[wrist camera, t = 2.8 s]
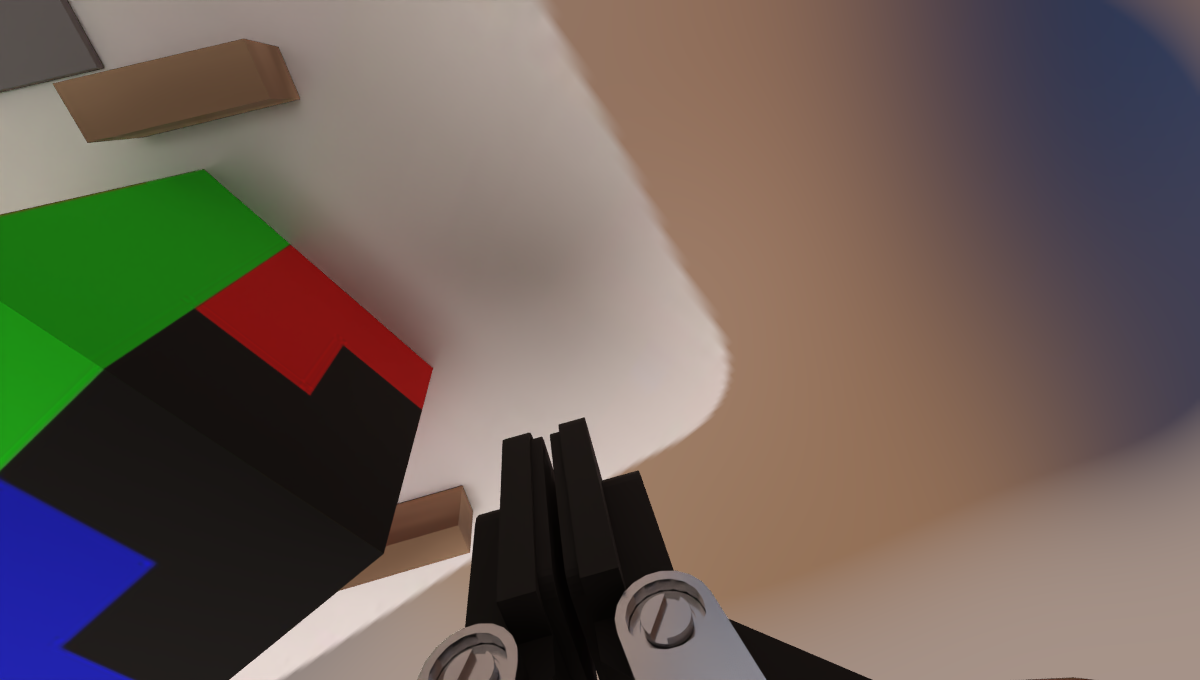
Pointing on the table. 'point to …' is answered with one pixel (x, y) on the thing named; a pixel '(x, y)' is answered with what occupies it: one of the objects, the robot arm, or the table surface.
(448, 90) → the table surface
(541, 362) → the table surface
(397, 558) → the trap box
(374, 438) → the puzzle toy
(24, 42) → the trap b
